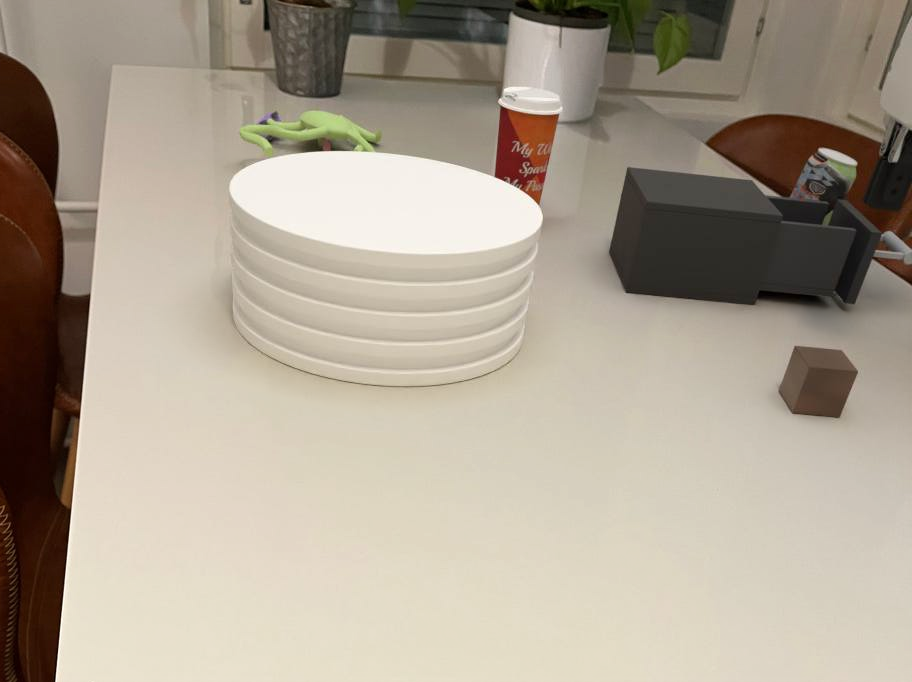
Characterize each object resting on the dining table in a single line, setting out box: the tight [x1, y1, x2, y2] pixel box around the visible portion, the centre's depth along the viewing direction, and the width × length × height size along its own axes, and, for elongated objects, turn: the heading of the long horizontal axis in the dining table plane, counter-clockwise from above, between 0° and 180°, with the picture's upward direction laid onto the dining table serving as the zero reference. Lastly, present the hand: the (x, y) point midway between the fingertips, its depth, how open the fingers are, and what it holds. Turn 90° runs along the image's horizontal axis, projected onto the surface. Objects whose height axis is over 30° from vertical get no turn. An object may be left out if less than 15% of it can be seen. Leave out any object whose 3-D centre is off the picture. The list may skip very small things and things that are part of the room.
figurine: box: [238, 110, 383, 158], centre depth 133 cm, size 18×27×6 cm
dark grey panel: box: [759, 194, 912, 305], centre depth 111 cm, size 19×11×8 cm, turn 91°
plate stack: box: [228, 150, 544, 387], centre depth 92 cm, size 28×28×12 cm
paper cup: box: [494, 86, 564, 207], centre depth 120 cm, size 8×8×14 cm
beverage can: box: [789, 147, 858, 226], centre depth 121 cm, size 6×7×12 cm
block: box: [778, 345, 859, 418], centre depth 89 cm, size 4×4×4 cm
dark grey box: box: [608, 166, 783, 306], centre depth 110 cm, size 15×13×10 cm
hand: (880, 206), depth 92 cm, fingers closed
